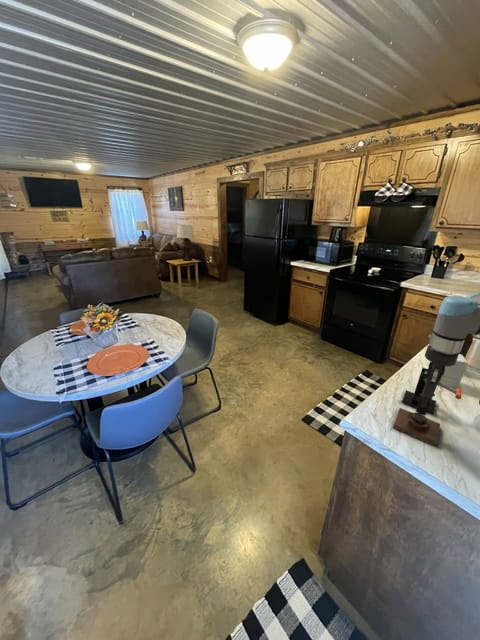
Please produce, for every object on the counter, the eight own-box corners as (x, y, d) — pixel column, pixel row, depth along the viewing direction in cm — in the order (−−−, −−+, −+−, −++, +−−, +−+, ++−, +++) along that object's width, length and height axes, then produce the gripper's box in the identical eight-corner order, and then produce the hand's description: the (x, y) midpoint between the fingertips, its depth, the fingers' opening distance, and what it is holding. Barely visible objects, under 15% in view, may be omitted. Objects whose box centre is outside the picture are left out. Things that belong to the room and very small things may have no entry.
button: (425, 419, 87) (426, 415, 86) (424, 426, 84) (425, 422, 84) (412, 414, 89) (414, 410, 88) (411, 420, 86) (412, 416, 86)
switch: (458, 393, 92) (463, 389, 91) (458, 401, 89) (463, 396, 87) (422, 373, 98) (426, 369, 97) (420, 379, 94) (424, 375, 93)
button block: (438, 427, 88) (441, 419, 87) (436, 446, 81) (439, 437, 80) (398, 411, 95) (400, 403, 94) (392, 427, 88) (395, 419, 86)
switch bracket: (435, 403, 99) (446, 372, 94) (433, 415, 94) (445, 382, 88) (405, 392, 105) (414, 363, 100) (401, 402, 99) (411, 372, 94)
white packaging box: (453, 379, 114) (463, 354, 109) (458, 389, 107) (468, 363, 102) (433, 375, 116) (441, 350, 112) (436, 384, 110) (445, 358, 105)
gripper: (430, 337, 83) (410, 397, 92) (425, 353, 74) (404, 418, 83) (460, 344, 79) (436, 406, 88) (458, 362, 70) (432, 429, 79)
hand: (420, 412), depth 85 cm, fingers closed
